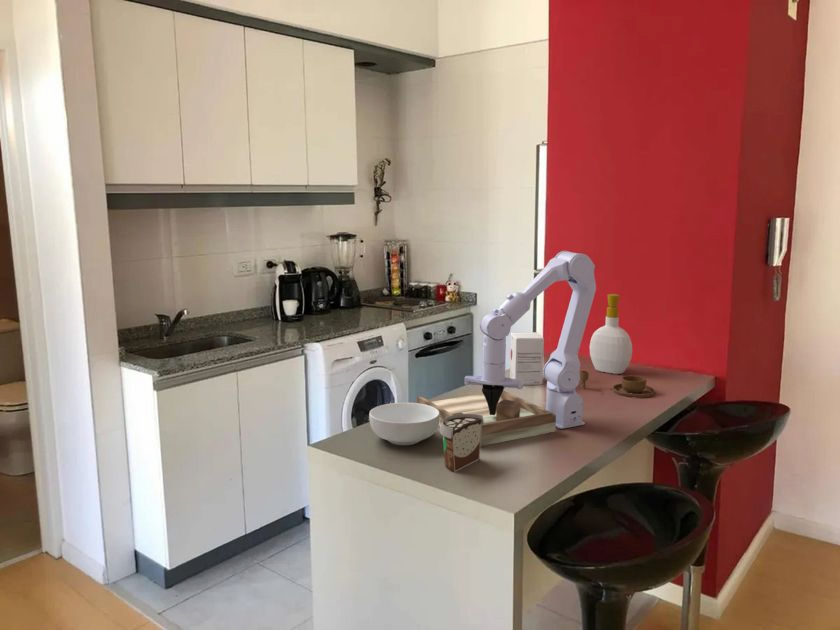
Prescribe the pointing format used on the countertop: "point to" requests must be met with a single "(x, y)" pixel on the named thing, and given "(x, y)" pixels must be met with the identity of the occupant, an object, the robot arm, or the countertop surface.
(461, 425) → the food container
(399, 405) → the cereal bowl
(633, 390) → the place setting
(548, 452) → the countertop surface
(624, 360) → the soap bottle
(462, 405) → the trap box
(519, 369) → the supplement box
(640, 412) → the countertop surface
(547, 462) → the countertop surface
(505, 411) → the walnut block
